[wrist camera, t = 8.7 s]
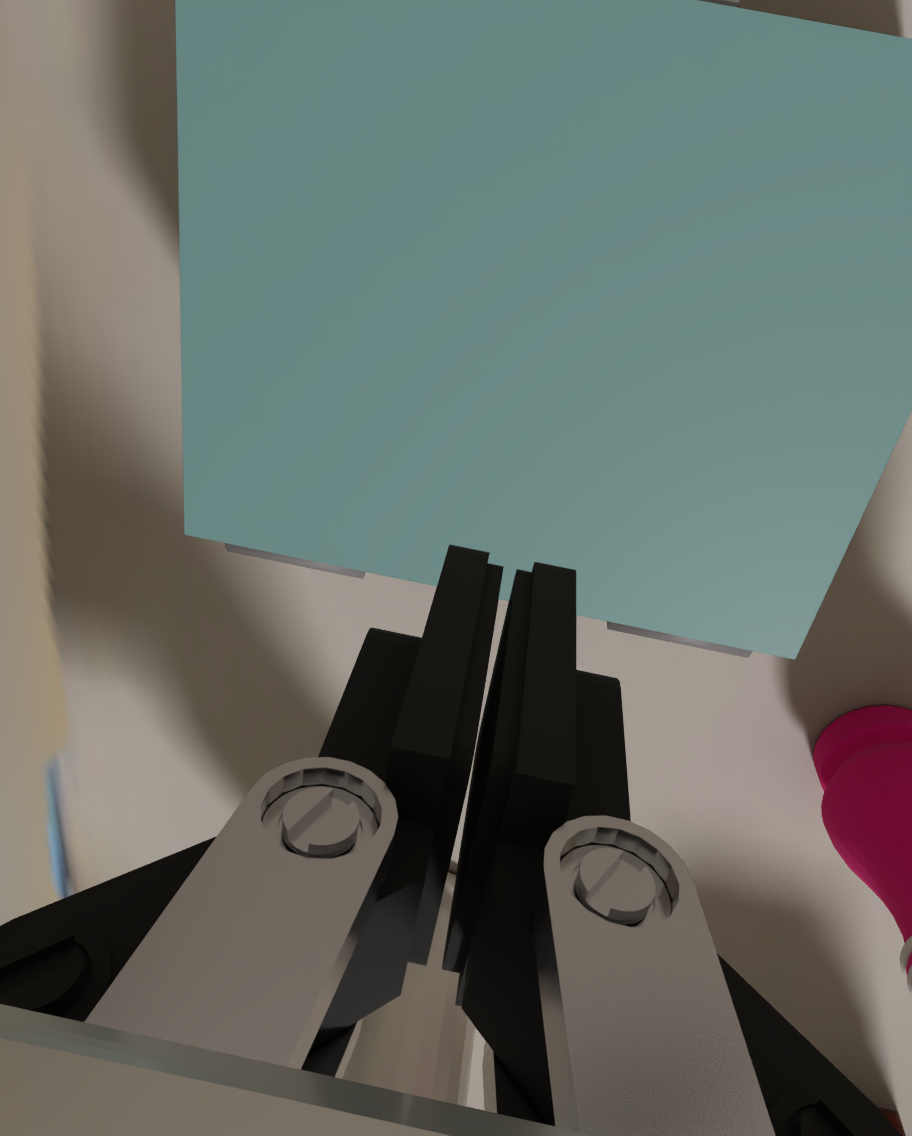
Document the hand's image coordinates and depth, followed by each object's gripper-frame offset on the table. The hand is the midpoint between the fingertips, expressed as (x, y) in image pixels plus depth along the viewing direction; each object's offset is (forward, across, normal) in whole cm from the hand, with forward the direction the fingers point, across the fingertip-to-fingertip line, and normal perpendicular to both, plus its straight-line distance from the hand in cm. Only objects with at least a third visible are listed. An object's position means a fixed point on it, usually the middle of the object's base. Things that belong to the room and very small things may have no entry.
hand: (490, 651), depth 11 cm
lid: (+17, 0, -1) cm, 17 cm away
